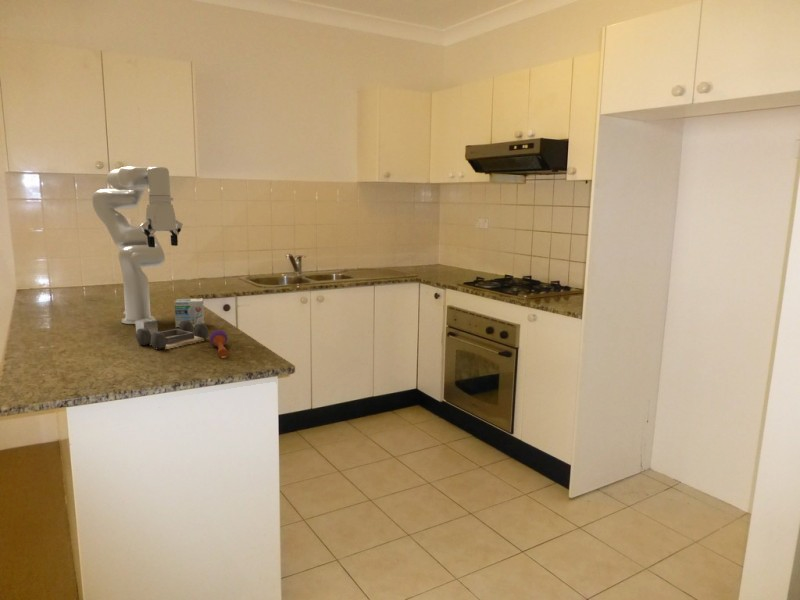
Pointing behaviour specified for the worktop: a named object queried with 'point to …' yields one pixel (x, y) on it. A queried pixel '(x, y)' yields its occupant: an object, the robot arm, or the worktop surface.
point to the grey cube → (147, 325)
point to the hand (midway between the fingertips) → (163, 246)
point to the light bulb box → (189, 311)
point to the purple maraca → (219, 342)
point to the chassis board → (173, 335)
